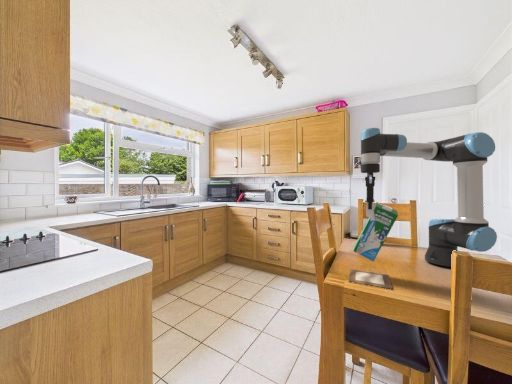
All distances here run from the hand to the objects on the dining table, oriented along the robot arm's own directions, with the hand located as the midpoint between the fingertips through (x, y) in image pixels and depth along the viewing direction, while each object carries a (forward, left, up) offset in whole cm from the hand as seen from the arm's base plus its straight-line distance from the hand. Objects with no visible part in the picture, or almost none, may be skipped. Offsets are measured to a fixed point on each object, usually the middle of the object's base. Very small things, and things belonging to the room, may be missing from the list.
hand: (369, 216), depth 97 cm
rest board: (0, 0, -28) cm, 28 cm away
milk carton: (+3, -3, -18) cm, 19 cm away
